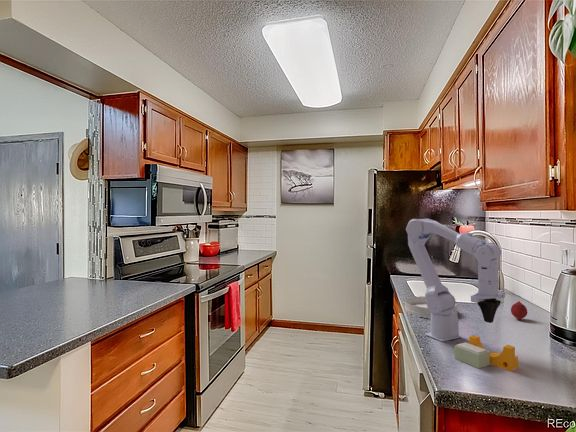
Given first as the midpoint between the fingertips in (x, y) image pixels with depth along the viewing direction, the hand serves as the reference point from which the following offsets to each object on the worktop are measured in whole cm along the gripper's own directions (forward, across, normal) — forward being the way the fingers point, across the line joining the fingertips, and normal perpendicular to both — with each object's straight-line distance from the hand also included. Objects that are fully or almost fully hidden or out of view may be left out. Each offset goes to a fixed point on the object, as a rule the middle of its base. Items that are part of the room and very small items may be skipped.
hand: (488, 321), depth 113 cm
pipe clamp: (+10, -7, -6) cm, 14 cm away
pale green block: (+9, -12, -3) cm, 16 cm away
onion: (+10, +42, +15) cm, 46 cm away
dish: (+10, +19, +40) cm, 45 cm away
